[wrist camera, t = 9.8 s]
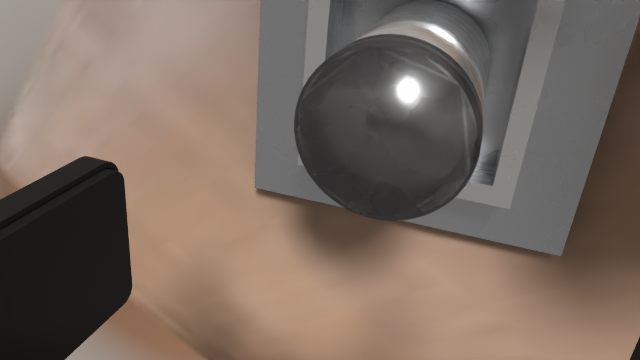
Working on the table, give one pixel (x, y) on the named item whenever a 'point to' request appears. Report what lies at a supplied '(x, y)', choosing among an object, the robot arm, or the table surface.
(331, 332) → the table surface
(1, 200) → the robot arm
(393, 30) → the grey jar with lid
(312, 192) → the collar
